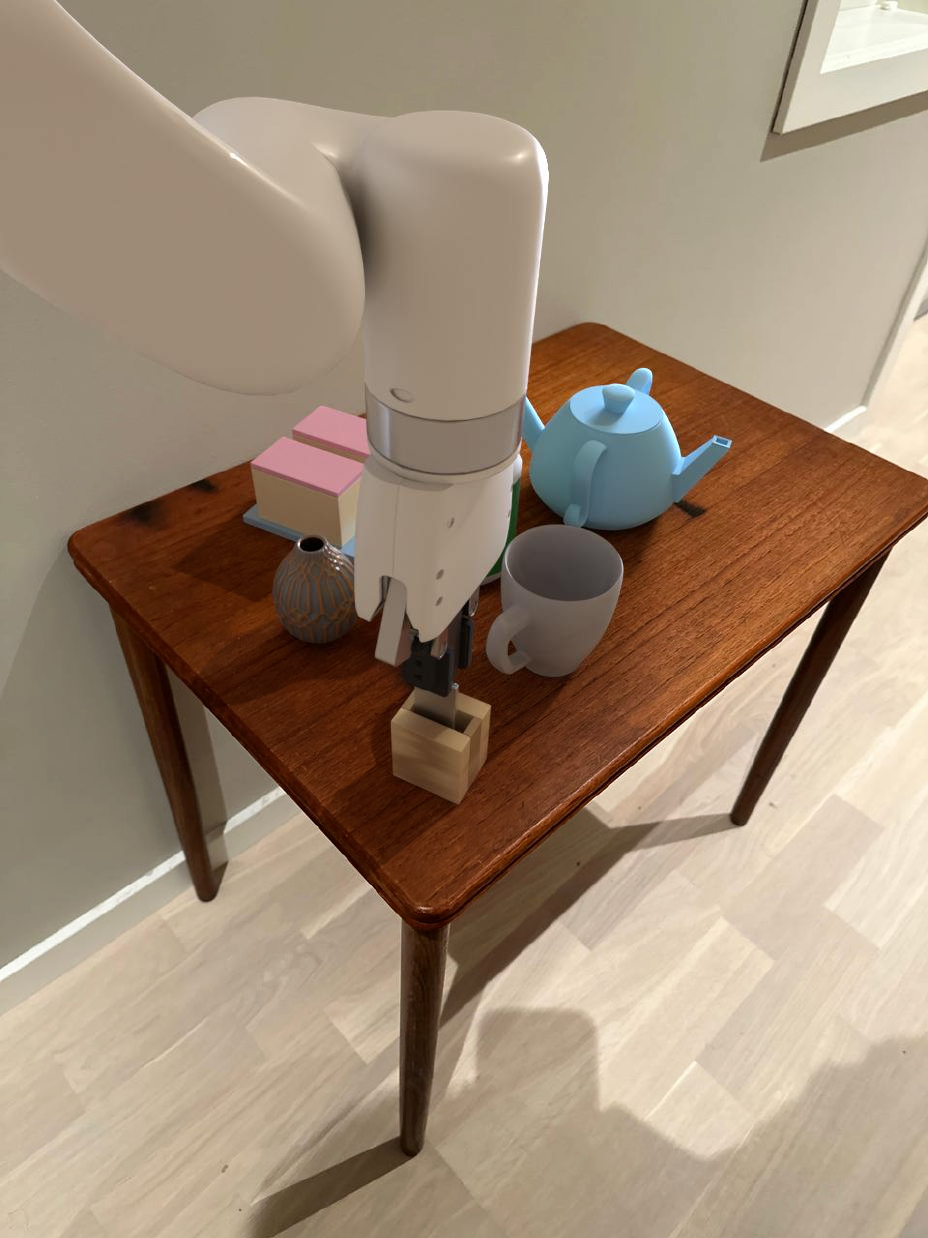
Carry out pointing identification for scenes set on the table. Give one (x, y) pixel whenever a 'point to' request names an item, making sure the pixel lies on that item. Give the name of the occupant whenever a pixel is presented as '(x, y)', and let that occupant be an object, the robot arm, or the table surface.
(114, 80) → the robot arm
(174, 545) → the table surface
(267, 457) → the cake
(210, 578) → the table surface
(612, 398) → the teapot
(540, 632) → the mug
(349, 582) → the vase
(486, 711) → the knife block
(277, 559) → the table surface
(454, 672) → the knife
